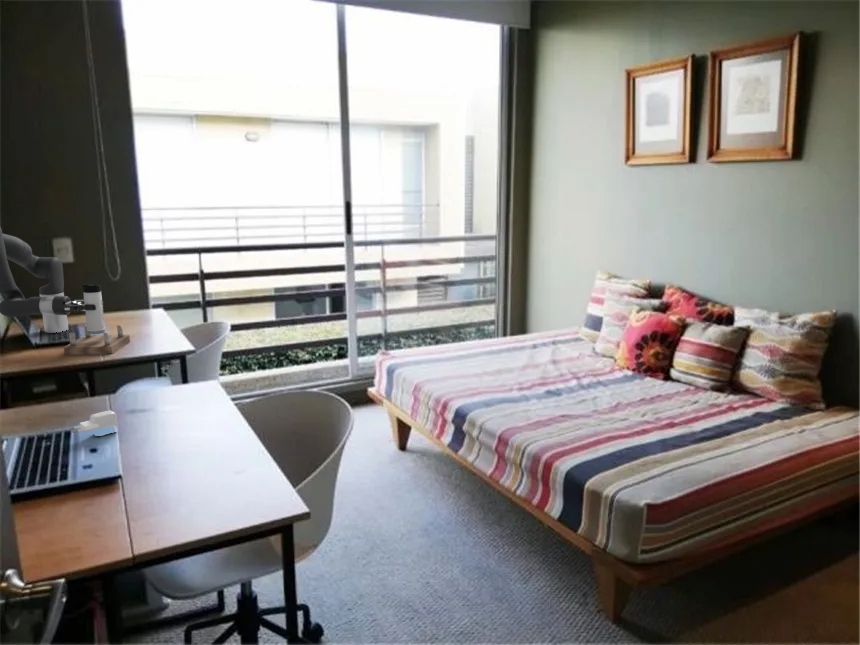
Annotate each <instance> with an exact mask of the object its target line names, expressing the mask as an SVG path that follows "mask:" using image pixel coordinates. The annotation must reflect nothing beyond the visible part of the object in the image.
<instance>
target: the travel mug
mask: <svg viewBox="0 0 860 645" xmlns="http://www.w3.org/2000/svg"><path fill="white" fill-rule="evenodd" d="M81 285H82V290H83V300H84V304H85V305H86V304H95V305H96V310H86V311H84V313H85V321H86V322H85V323H86V325H87V333H89V334H91V335H98V334H103V333H104V332H106V327H105V318H104V317H105V316H104V308H103V307H104V306H103V305H102V301H103V296H102V290H101V288H102V287H101V285H100V284H94V283H92V284H91V283H83V284H81Z"/></svg>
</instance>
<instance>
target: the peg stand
mask: <svg viewBox="0 0 860 645" xmlns="http://www.w3.org/2000/svg"><path fill="white" fill-rule="evenodd" d="M83 326H84V327H83V328H84V336H82V337H80V338H78V339H77V340H76V332H69V333H68V337H69V344H67V345H65V346H64V347H63V351H64V353H63V354H64V355H68V356H69V355H107V354H106V353H113V352H114V353H116V352H118V351H119V350H120V349H122V348H124V347H125V346H126V344H127V345H129V342H130V343H131V339H130V338H131V337H130V335H129V334H126V335H125V334H124V330H123V324H117V325H116V328H117V330H116V331H117V334H116V335H115V334H114V335H113V334H112V335H110V332H109V331H105V332H103V333H102V335H92V334H89V333H87V324H85V325H83ZM124 345H125V346H124ZM121 347H122V348H121ZM118 349H119V350H118ZM115 351H116V352H115ZM114 353H113V354H114Z"/></svg>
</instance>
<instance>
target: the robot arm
mask: <svg viewBox="0 0 860 645" xmlns="http://www.w3.org/2000/svg"><path fill="white" fill-rule="evenodd" d="M8 260H9V261H11V262H13V263H15V264H17V265H19V266H20V267H22V268H24V269H25V270H26V271H28V272H29V273H30V274H31V275H33V276H34V277H36V278H38V279H48V280H49V282H48V284H45V285H42V286H40V287H39V289H38V292H39V296H30V297H28V298H25V296H24V294H23V292H22V291H21V290H20V288H19V287H18V286H17V284H16V282H15V279H14V276H13V274H12V272H11V269H10V265H9V261H8ZM64 279H65V278H64V267H63V263H62V261H61V259H60V258H59V257H54V256H48V257H47V256H44V257H43V256H37V255H35V254H33V249H32V247H31V246H30V245H29V244H28V243H27V242H26V241H24V240H22V239H21V238H19V237H17V236H15V235H14V236H13V235H10V234H6V233H3V231H2V228H1V226H0V294H3V296H4V297H5V299H3V300H2V301H0V314H1V315H2V316H4V317H8V318H17V317H24V316H29V315H42V321H43V327H44V328H43V329H44V333H47V334H52V333H53V334H54V333H56V332H57V333H62V331H63V332H66V330H67V331H69V323H68V322H69V321H68V315H70V314H71V313H78V312H79V313H81V312H85V311H86V310H96V305H95V304H86V305H85V304H84V299H83V298H82V299H74V300H72V298H71V297H69V296H67V295H65V292H64V287H65V282H64V281H65V280H64ZM102 305H103V307H104V301H103V300H102Z"/></svg>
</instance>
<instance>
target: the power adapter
mask: <svg viewBox="0 0 860 645" xmlns="http://www.w3.org/2000/svg"><path fill="white" fill-rule="evenodd" d="M117 417H118V416H117V414H116V412H115V411H113V410H109V409H108V410H104V411H100V412H97V413H92V414H90V417H89V420H86V421H81V422H79V424H78V425H76V426H72V427H68V431H71V432H72V434H76V433H78V432H84V431H85V432H84V433H89V432H92V430H95V429H99V428H103V427H107V426H111V425H115V426H116V427H117V429H118V430H119V426H118V425H119V424H118V418H117ZM88 431H89V432H88Z"/></svg>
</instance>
